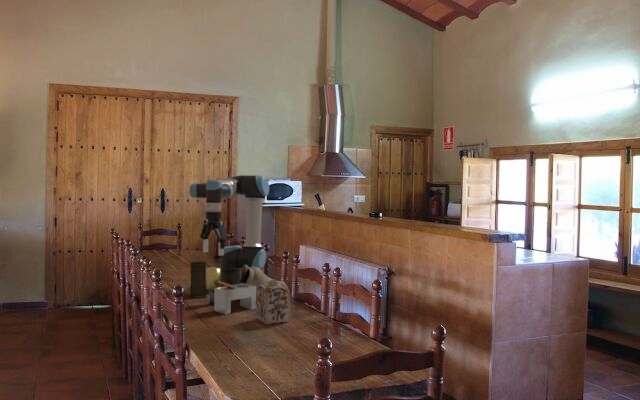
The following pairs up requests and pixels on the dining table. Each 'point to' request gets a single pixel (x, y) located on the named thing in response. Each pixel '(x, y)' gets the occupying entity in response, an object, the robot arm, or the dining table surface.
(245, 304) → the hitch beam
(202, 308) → the dining table surface
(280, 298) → the decorative jar
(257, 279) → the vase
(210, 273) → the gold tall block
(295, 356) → the dining table surface
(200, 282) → the container
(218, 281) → the keeper flap
